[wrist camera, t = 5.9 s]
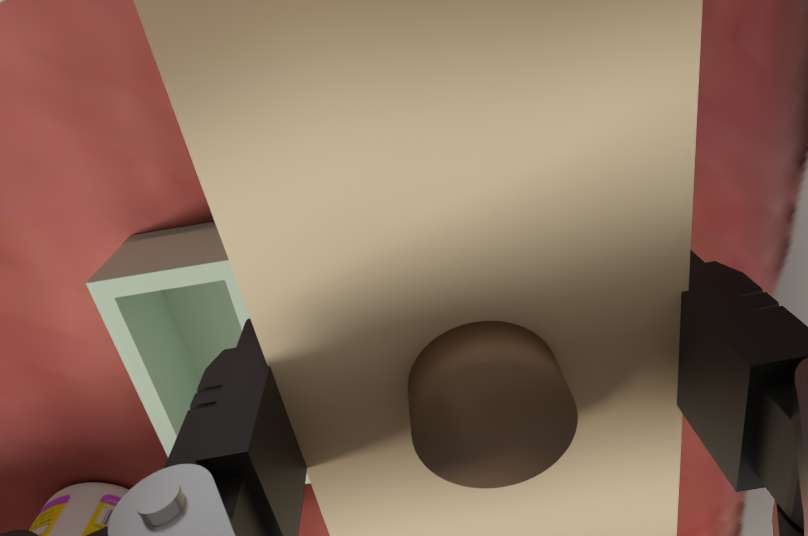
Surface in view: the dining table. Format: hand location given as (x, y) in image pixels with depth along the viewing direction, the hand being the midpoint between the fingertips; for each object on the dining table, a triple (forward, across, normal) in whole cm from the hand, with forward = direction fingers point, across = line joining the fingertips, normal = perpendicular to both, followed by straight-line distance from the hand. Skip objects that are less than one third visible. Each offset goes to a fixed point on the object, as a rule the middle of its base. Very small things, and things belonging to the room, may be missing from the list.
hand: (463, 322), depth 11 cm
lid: (+1, 0, 0) cm, 1 cm away
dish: (+15, +11, +8) cm, 21 cm away
